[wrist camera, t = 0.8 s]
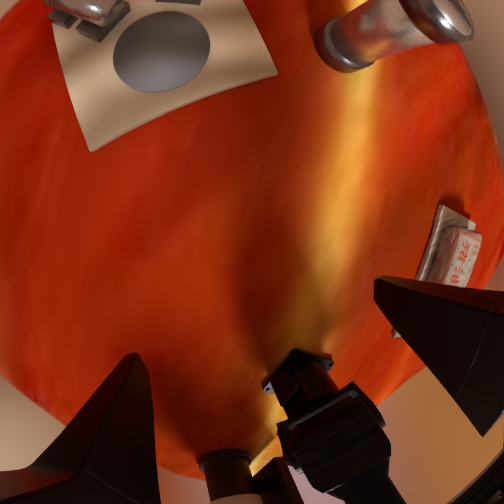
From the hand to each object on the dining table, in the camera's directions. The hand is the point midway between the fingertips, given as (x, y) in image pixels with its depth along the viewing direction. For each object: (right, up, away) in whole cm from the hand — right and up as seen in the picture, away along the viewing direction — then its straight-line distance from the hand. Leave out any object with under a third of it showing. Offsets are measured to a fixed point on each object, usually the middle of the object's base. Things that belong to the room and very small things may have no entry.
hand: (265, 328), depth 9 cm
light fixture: (-4, -30, +24) cm, 39 cm away
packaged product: (+24, 0, +22) cm, 33 cm away
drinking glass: (+7, +21, +9) cm, 24 cm away
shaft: (-13, +21, +3) cm, 26 cm away
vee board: (-8, +19, +5) cm, 22 cm away
